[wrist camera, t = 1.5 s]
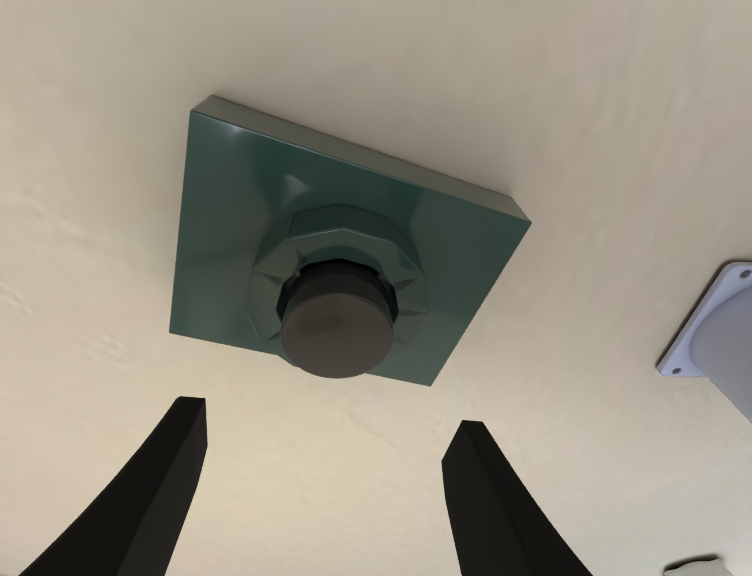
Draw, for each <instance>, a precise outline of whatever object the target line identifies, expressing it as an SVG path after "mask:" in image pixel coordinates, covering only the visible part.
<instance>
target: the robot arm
mask: <svg viewBox="0 0 752 576" xmlns="http://www.w3.org/2000/svg"><path fill="white" fill-rule="evenodd" d="M657 371H658V372H659V373H660V374H661V375H662V376H697V377H708V378H709V379H710V380H711V381H712V382H713V383H714V384H715V385H716V387H717V388H718V389H719V390H720V391H721V392H722V393H723V394H724V395H725V396H726V397H727V398H728V399H729V400H730V401H731V402H732V403H733V405H734V406H735V407H736V408H737V409H738V410H739V411H740V412H741V413H742V414H743V415H744V416H745V417H746V418H747V419H748V420H749V421H750V422H751V424H752V262H732V263H730V264H728V265H726V266H725V267H724V268H723V269H722V271H721V272H720V274H719V275H718V277H717V278H716V280H715V281H714V283H713V284H712V286H711V287H710V289H709V290H708V292H707V293H706V295H705V296H704V298H703V299H702V301H701V302H700V304H699V305H698V307H697V308H696V310H695V311H694V313H693V314H692V316H691V317H690V319H689V320H688V322H687V323H686V325H685V326H684V328H683V329H682V331H681V332H680V334H679V335H678V337H677V338H676V340H675V341H674V343H673V344H672V346H671V347H670V349H669V350H668V352H667V353H666V355H665V356H664V358H663V359H662V361H661V362H660V364H659V365H658V367H657ZM207 446H208V444H207V423H206V402H205V398H195V397H184V396H180V397H178V398H177V399H176V400H175V401H174V403H173V404H172V406H171V407H170V408H169V410H168V411H167V413H166V414H165V415H164V417H163V418H162V419H161V421H160V422H159V423H158V425H157V426H156V427H155V429H154V430H153V431H152V433H151V434H150V435H149V436H148V438H147V439H146V440H145V441H144V443H143V444H142V445H141V447H140V448H139V449H138V450H137V451H136V453H135V454H134V455H133V456H132V457H131V458H130V460H129V461H128V462H127V463H126V464H125V466H124V467H123V468H122V469H121V470H120V472H119V473H118V474H117V475H116V476H115V477H114V479H113V480H112V481H111V482H110V483H109V484H108V485H107V486H106V487H105V489H104V490H103V491H102V492H101V493H100V494H99V495H98V496H97V497H96V498H95V499H94V500H93V502H92V503H91V504H90V505H89V506H88V507H87V508H86V509H85V510H84V511H83V512H82V514H81V515H80V516H79V517H78V518H77V519H76V520H75V521H74V522H73V523H72V524H71V525H70V526H69V527H68V528H67V529H66V530H65V531H64V532H63V533H62V534H61V535H60V536H59V537H58V538H57V539H56V540H55V541H54V542H53V543H52V544H51V545H50V546H49V547H48V548H47V549H46V550H45V551H44V552H43V553H42V554H41V555H40V556H39V557H38V558H37V559H36V560H35V561H34V562H33V563H31V564H30V565H29V566H28V567H27V568H26V569H25V570H24V571H23V572H22V573H21V574H20V575H19V576H164V575H165V573H166V570H167V567H168V565H169V562H170V559H171V556H172V554H173V551H174V548H175V546H176V543H177V540H178V537H179V535H180V532H181V529H182V527H183V524H184V521H185V518H186V516H187V513H188V510H189V507H190V505H191V502H192V499H193V496H194V494H195V491H196V488H197V485H198V481H199V477H200V474H201V470H202V466H203V462H204V458H205V454H206V450H207ZM442 472H443V483H444V492H445V500H446V505H447V510H448V514H449V519H450V524H451V529H452V533H453V538H454V542H455V547H456V551H457V556H458V560H459V565H460V569H461V574H462V576H593V575H592V574H591V573H590V572H589V571H588V569H587V568H586V567H585V566H584V565H583V563H582V562H581V561H580V560H579V559H578V557H577V556H576V555H575V554H574V552H573V551H572V550H571V549H570V547H569V546H568V545H567V544H566V542H565V541H564V540H563V539H562V537H561V536H560V535H559V533H558V532H557V531H556V529H555V528H554V527H553V525H552V524H551V523H550V521H549V520H548V519H547V517H546V516H545V514H544V513H543V512H542V510H541V509H540V508H539V506H538V505H537V503H536V502H535V500H534V499H533V498H532V496H531V495H530V493H529V492H528V490H527V489H526V487H525V486H524V485H523V483H522V482H521V480H520V479H519V477H518V476H517V474H516V473H515V471H514V470H513V468H512V467H511V465H510V463H509V462H508V460H507V459H506V457H505V456H504V454H503V453H502V451H501V450H500V448H499V446H498V445H497V443H496V442H495V440H494V439H493V437H492V435H491V434H490V432H489V431H488V429H487V428H486V426H485V425H484V423H483V422H480V421H468V420H462V422H461V424H460V426H459V428H458V430H457V432H456V434H455V436H454V438H453V440H452V442H451V443H450V445H449V447H448V449H447V451H446V453H445V455H444V457H443V459H442Z"/></svg>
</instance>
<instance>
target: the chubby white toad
mask: <svg viewBox="0 0 752 576" xmlns="http://www.w3.org/2000/svg"><path fill="white" fill-rule="evenodd" d="M664 576H733V575H732V573H731V572H730V571H729V570H728V569H727V568H726V567H725V566H724V564H723V563H722V561H721V560H720V559H716V560H713V561H696V562H691V563H688V564H685V565H683V566H681V567H680V568H678V569H675V570H668V571H665V572H664Z"/></svg>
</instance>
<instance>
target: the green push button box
mask: <svg viewBox="0 0 752 576" xmlns="http://www.w3.org/2000/svg"><path fill="white" fill-rule="evenodd" d="M531 224H532V222H531V221H530V219H529V218H528V217H527V216H526V215H525V213H524V212H523V211H522V210H521V208H520V207H519V206H518V205H517V204H516V202H515V201H514V200H513V199H512V198H511V197H508V196H505V195H502V194H499V193H496V192H493V191H490V190H488V189H485V188H482V187H479V186H476V185H473V184H470V183H467V182H464V181H461V180H458V179H455V178H452V177H450V176H447V175H444V174H441V173H438V172H435V171H432V170H429V169H426V168H423V167H420V166H417V165H414V164H411V163H409V162H406V161H403V160H400V159H397V158H394V157H391V156H388V155H385V154H382V153H379V152H376V151H373V150H370V149H368V148H365V147H362V146H359V145H356V144H353V143H350V142H347V141H344V140H341V139H338V138H335V137H332V136H330V135H327V134H324V133H321V132H318V131H315V130H312V129H309V128H306V127H303V126H300V125H297V124H294V123H291V122H289V121H286V120H283V119H280V118H277V117H274V116H271V115H268V114H265V113H262V112H259V111H256V110H253V109H251V108H248V107H245V106H242V105H239V104H236V103H233V102H230V101H227V100H224V99H221V98H218V97H215V96H212V95H211V96H209V97H208V98H206V99H205V100H204V101H202V102H201V103H200V104H198V105H197V106H196V107H194V108H193V109H191V111H190V118H189V128H188V139H187V149H186V160H185V170H184V181H183V191H182V202H181V212H180V222H179V233H178V243H177V254H176V264H175V275H174V285H173V296H172V306H171V316H170V327H169V333H171V334H176V335H181V336H186V337H191V338H196V339H201V340H205V341H210V342H215V343H220V344H225V345H230V346H235V347H240V348H245V349H249V350H254V351H259V352H264V353H269V354H274V355H278V356H280V357H281V358H282V359H284V360H285V361H287V362H288V363H290V364H291V365H293V366H295V367H298V366H296V365H295V364H294V363H293V362H292V361H291V360H290V359H289V358H288V356H287V355H286V354H285V352H284V350H283V348H282V345H281V340H280V330H281V325H282V320H283V315H284V310H285V305H286V300H287V295H288V292H289V289H290V287H291V285H292V284H293V282H294V281H295V280H296V279H297V278H298V277H299V276H300V275H301V274H302V273H304V272H305V271H306V270H308V269H310V268H312V267H314V266H317V265H320V264H324V263H330V262H346V263H351V264H355V265H358V266H361V267H363V268H365V269H367V270H369V271H370V272H372V273H373V274H374V275H376V276H377V277H378V278H379V279H380V280H381V281H382V283H383V284H384V286H385V288H386V290H387V292H388V295H389V301H390V308H391V315H392V322H393V330H394V341H393V345H392V348H391V350H390V352H389V354H388V355H387V357H386V358H385V359H384V360H383V361H382V362H381V363H380V364H379V365H378V366H376V367H375V368H374V369H372V370H370V371H368V372H366V373H367V374H372V375H377V376H381V377H386V378H391V379H396V380H401V381H406V382H411V383H416V384H421V385H425V386H431V385H432V384H433V382H434V380H435V379H436V377H437V376H438V374H439V372H440V371H441V369H442V367H443V366H444V364H445V363H446V361H447V359H448V358H449V356H450V355H451V353H452V351H453V350H454V348H455V346H456V345H457V343H458V342H459V340H460V338H461V337H462V335H463V334H464V332H465V330H466V329H467V327H468V326H469V324H470V322H471V321H472V319H473V317H474V316H475V314H476V313H477V311H478V309H479V308H480V306H481V305H482V303H483V301H484V300H485V298H486V296H487V295H488V293H489V292H490V290H491V288H492V287H493V285H494V284H495V282H496V280H497V279H498V277H499V275H500V274H501V272H502V271H503V269H504V267H505V266H506V264H507V263H508V261H509V259H510V258H511V256H512V254H513V253H514V251H515V250H516V248H517V246H518V245H519V243H520V242H521V240H522V238H523V237H524V235H525V234H526V232H527V230H528V229H529V227H530V225H531Z"/></svg>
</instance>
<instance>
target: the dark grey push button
mask: <svg viewBox="0 0 752 576" xmlns="http://www.w3.org/2000/svg"><path fill="white" fill-rule="evenodd" d="M280 340H281V345H282V348H283V350H284V352H285V354H286V355H287V356H288V358H289V359H290V360H291V361H292V362H293V363H294V364H295V365H296V366H298V367H299V368H301V369H302V370H304V371H306V372H308V373H311V374H313V375H316V376H320V377H326V378H349V377H354V376H358V375H361V374H364V373H366V372H368V371H370V370H372V369H374V368H375V367H376V366H378V365H379V364H380V363H381V362H382V361H383V360H384V359H385V358H386V357H387V355H388V354H389V352H390V350H391V348H392V345H393V341H394V330H393V322H392V315H391V308H390V301H389V295H388V292H387V290H386V288H385V286H384V284H383V283H382V281H381V280H380V279H379V278H378V277H377V276H376V275H374V274H373V273H372V272H370V271H369V270H367V269H365V268H363V267H361V266H358V265H355V264H351V263H346V262H330V263H324V264H320V265H317V266H314V267H312V268H310V269H308V270H306V271H305V272H304V273H302V274H301V275H300V276H299V277H298V278H297V279H296V280H295V281H294V282H293V284H292V285H291V287H290V289H289V292H288V295H287V300H286V305H285V310H284V315H283V320H282V325H281V330H280Z"/></svg>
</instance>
